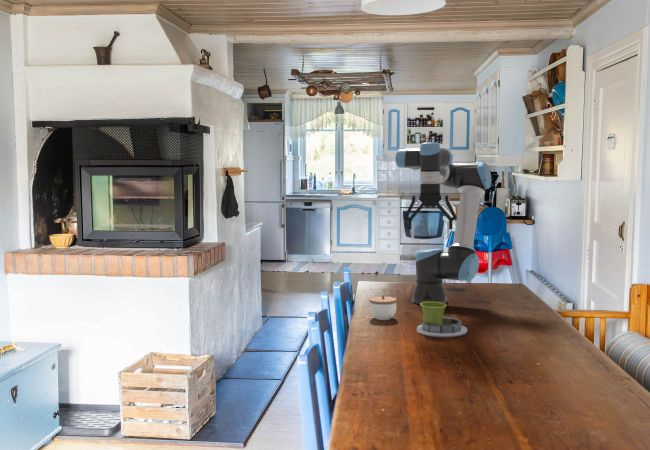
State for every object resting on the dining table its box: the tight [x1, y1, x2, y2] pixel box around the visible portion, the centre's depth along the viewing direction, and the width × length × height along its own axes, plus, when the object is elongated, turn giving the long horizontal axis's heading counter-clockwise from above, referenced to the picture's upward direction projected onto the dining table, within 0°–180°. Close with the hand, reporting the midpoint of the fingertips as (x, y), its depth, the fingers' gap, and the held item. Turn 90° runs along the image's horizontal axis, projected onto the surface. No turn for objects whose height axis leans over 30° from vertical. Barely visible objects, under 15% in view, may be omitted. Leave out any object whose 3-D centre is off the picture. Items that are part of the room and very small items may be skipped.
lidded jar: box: [368, 294, 398, 321], centre depth 265 cm, size 11×11×9 cm
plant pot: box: [419, 302, 447, 325], centre depth 243 cm, size 9×9×9 cm
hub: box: [416, 316, 468, 338], centre depth 243 cm, size 18×18×4 cm
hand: (430, 238), depth 260 cm, fingers open, 13 cm apart
